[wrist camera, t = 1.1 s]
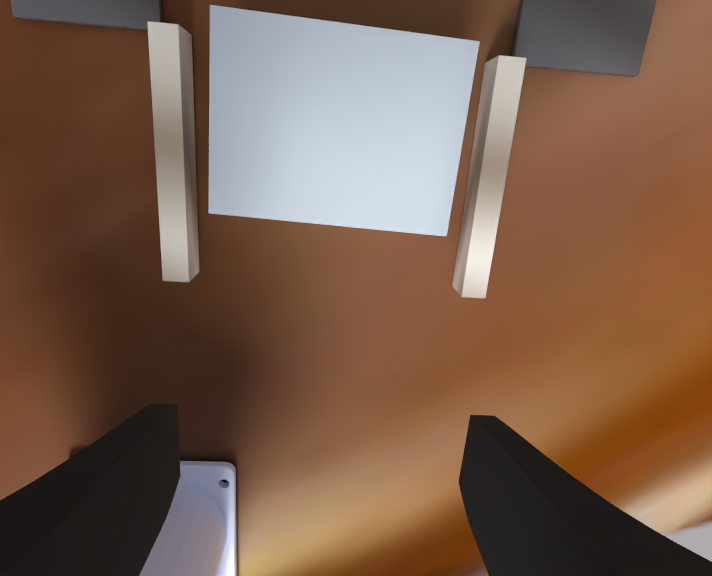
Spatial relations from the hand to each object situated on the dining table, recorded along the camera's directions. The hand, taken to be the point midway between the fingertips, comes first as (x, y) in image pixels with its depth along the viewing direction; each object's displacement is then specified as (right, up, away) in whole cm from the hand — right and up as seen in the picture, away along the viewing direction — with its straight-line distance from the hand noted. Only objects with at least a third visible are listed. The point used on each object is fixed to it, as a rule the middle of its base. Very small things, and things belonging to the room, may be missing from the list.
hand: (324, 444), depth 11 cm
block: (0, +10, +7) cm, 12 cm away
